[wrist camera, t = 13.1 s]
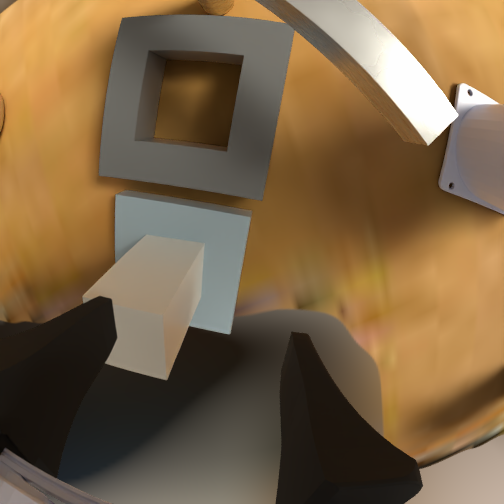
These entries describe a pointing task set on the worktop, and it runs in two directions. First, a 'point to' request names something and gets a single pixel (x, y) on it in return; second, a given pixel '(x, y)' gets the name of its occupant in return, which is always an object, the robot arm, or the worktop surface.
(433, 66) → the worktop surface
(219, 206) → the tile
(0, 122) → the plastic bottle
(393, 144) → the worktop surface
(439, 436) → the worktop surface
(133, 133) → the socket block
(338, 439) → the robot arm
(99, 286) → the plug
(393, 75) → the grey piece
